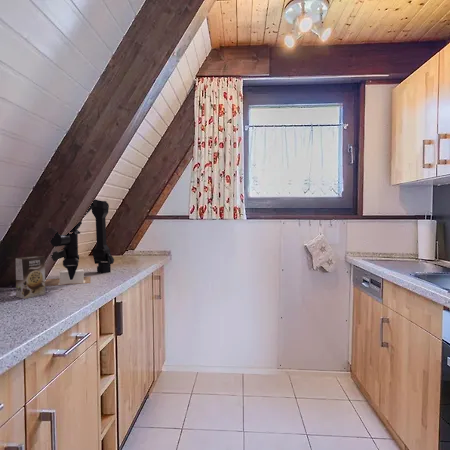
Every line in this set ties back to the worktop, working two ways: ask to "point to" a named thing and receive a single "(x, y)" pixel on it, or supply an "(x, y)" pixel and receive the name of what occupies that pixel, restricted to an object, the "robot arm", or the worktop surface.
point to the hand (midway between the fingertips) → (71, 277)
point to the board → (57, 282)
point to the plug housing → (76, 279)
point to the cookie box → (30, 276)
